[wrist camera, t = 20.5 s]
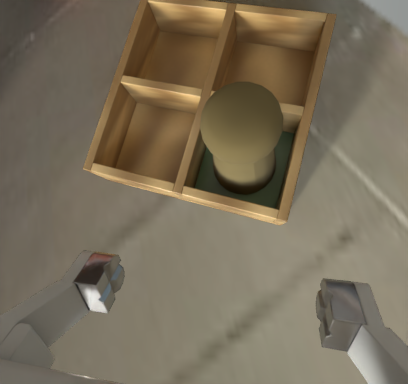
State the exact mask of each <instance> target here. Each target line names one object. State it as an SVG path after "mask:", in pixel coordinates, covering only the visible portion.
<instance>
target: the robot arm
mask: <svg viewBox="0 0 408 384" xmlns="http://www.w3.org/2000/svg"><path fill="white" fill-rule="evenodd" d="M120 261H121V259H120V257H119V255H115V254H108V253H102V252H95V251H87V250H84V251H83V252H81V253H80V254H79V256H78V257H77V259H76V260H75V261H74V263H73V264H72V266H71V267H70V268H69V270H68V271H67V272H66V274H65V275H64V277H63V278H62V279H61V281H56V282H54V283H53V284H51V285H50V286H48V287H46V288H45V289H43V290H41V291H40V292H38V293H36V294H35V295H33V296H32V297H30V298H28V299H27V300H25V301H23V302H22V303H20V304H18V305H17V306H15V307H13V308H12V309H10V310H9V311H7V312H5V313H4V314H2V315H0V384H122V383H117V382H112V381H108V380H103V379H98V378H93V377H88V376H83V375H78V374H73V373H68V372H63V371H59V370H54V369H50V367H51V366H52V364H53V362H54V360H55V358H54V355H53V354H52V352H51V351H50V350H49V349H48V347H49V346H51V345H52V344H53V343H54V342H55V341H56V340H58V339H59V338H60V337H61V336H62V335H63V334H64V333H66V332H67V331H68V330H69V329H70V328H71V327H72V326H74V325H75V324H76V323H77V322H78V321H79V320H81V319H82V318H83V317H84V316H85V315H86V314H87V313H89V311H95V312H103V313H109V311H110V309H111V307H112V305H113V303H114V301H115V294H114V293H116V292H117V291H118V290H120V288H121V286H122V284H123V281H124V277H125V275H124V268H123V267H122V266H121V265H120V264H119V263H120ZM320 286H321V290H320V291H318V293H317V297H316V313H317V318H318V319H319V320H320V321H321V324H320V327H319V332H320V339H321V345H322V347H325V348H330V349H335V350H341V351H346V352H347V354H348V355H349V356H350V358H351V359H352V361H353V362H354V364H355V365H356V366H357V368H358V369H359V371H360V372H361V374H362V375H363V376H364V378H365V379H366V381H367V382H368V384H408V346H407V345H406V344H405V343H404V342H403V341H402V340H401V339H400V338H399V337H398V336H397V335H396V334H395V333H394V332H393V331H392V330H391V329H390V328H386V327H385V326H384V323H383V321H382V318H381V315H380V312H379V310H378V307H377V304H376V301H375V299H374V296H373V293H372V290H371V288H370V286H369V285H368V284H367V283H359V282H351V281H343V280H334V279H324V278H323V279H322V281H321V284H320Z"/></svg>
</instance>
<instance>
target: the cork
mask: <svg viewBox="0 0 408 384" xmlns="http://www.w3.org/2000/svg"><path fill="white" fill-rule="evenodd" d="M200 130H201V134H202V139H203V141H204V143H205V144H206V146H207V148H208V149H209V151H210V152H211V153H212V154H213V170H214V174H215V177H216V179H217V180H218V182H219V183H220V185H222V186H223V187H224V188H225V189H226V190H228V191H230V192H233V193H235V194H244V195H247V194H251V193H256V192H258V191H259V190H261V189H263V188H264V187H266V185H267V184H268V183H269V182H270V181H271V180H272V177H273V175H274V173H275V169H276V157H275V150H274V148H275V146H276V145H277V143H278V141H279V138H280V136H281V133H282V130H283V114H282V111H281V108H280V104H279V102H278V100H277V99H276V98H275V96H274V95H273V93H272V92H270V91H269V90H268V89H266V88H265V87H263V86H262V85H259V84H255V83H252V82H234V83H231V84H227V85H225V86H223V87H222V88H220V89H219V90H217V91H215V92H214V93H213V94H212V96H211V97H210V98H209V99H208V100H207V101H206V104H205V106H204V108H203V110H202V113H201V122H200Z"/></svg>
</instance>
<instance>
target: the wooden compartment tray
mask: <svg viewBox="0 0 408 384" xmlns="http://www.w3.org/2000/svg"><path fill="white" fill-rule="evenodd" d="M335 20H336V14H329V13H328V14H327V13H321V12H312V11H302V10H293V9H283V8H274V7H264V6H255V5H246V4H235V3H226V2H217V1H207V0H140V3H139V6H138V9H137V12H136V15H135V18H134V21H133V24H132V27H131V30H130V32H129V35H128V38H127V41H126V44H125V47H124V50H123V53H122V56H121V59H120V62H119V65H118V68H117V70H116V73H115V76H114V79H113V82H112V85H111V88H110V91H109V94H108V97H107V100H106V103H105V106H104V108H103V111H102V114H101V117H100V120H99V123H98V126H97V129H96V132H95V135H94V138H93V141H92V144H91V146H90V149H89V152H88V155H87V158H86V161H85V164H84V167H83V169H84V170H87V171H89V172H91V173H94V174H96V175H98V176H101V177H103V178H106V179H108V180H111V181H114V182H118V183H122V184H126V185H130V186H133V187H137V188H141V189H145V190H149V191H152V192H156V193H160V194H164V195H167V196H171V197H175V198H179V199H183V200H186V201H190V202H194V203H198V204H202V205H205V206H209V207H213V208H217V209H220V210H224V211H228V212H232V213H236V214H239V215H243V216H247V217H251V218H255V219H258V220H262V221H266V222H270V223H273V224H277V225H282V224H283V223H285V222H287V220H288V216H289V212H290V208H291V204H292V200H293V195H294V191H295V187H296V183H297V179H298V174H299V170H300V166H301V162H302V158H303V153H304V149H305V145H306V141H307V137H308V133H309V128H310V124H311V120H312V116H313V112H314V107H315V103H316V99H317V95H318V91H319V87H320V82H321V78H322V74H323V70H324V66H325V61H326V57H327V53H328V49H329V45H330V41H331V36H332V32H333V28H334V24H335ZM234 82H252V83H255V84H259V85H262V86H263V87H265V88H266V89H268V90H269V91H270V92H272V93H273V95H274V96H275V98H276V99H277V100H278V102H279V104H280V108H281V111H282V114H283V130H282V133H281V136H280V138H279V141H278V143H277V145H276V146H275V148H274V150H275V157H276V169H275V173H274V175H273V177H272V180H271V181H270V182H269V183H268V184H267V185H266V187H264V188H263V189H261V190H259V191H258V192H256V193H251V194H247V195H244V194H235V193H233V192H230V191H228V190H226V189H225V188H224V187H223V186H222V185H220V183H219V182H218V180H217V179H216V177H215V174H214V170H213V154H212V153H211V152H210V151H209V149H208V148H207V146H206V144H205V143H204V141H203V139H202V134H201V130H200V122H201V113H202V110H203V108H204V106H205V104H206V101H207V100H208V99H209V98H210V97H211V96H212V94H213V93H214V92H215V91H217V90H219V89H220V88H222V87H223V86H225V85H227V84H231V83H234Z"/></svg>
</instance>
